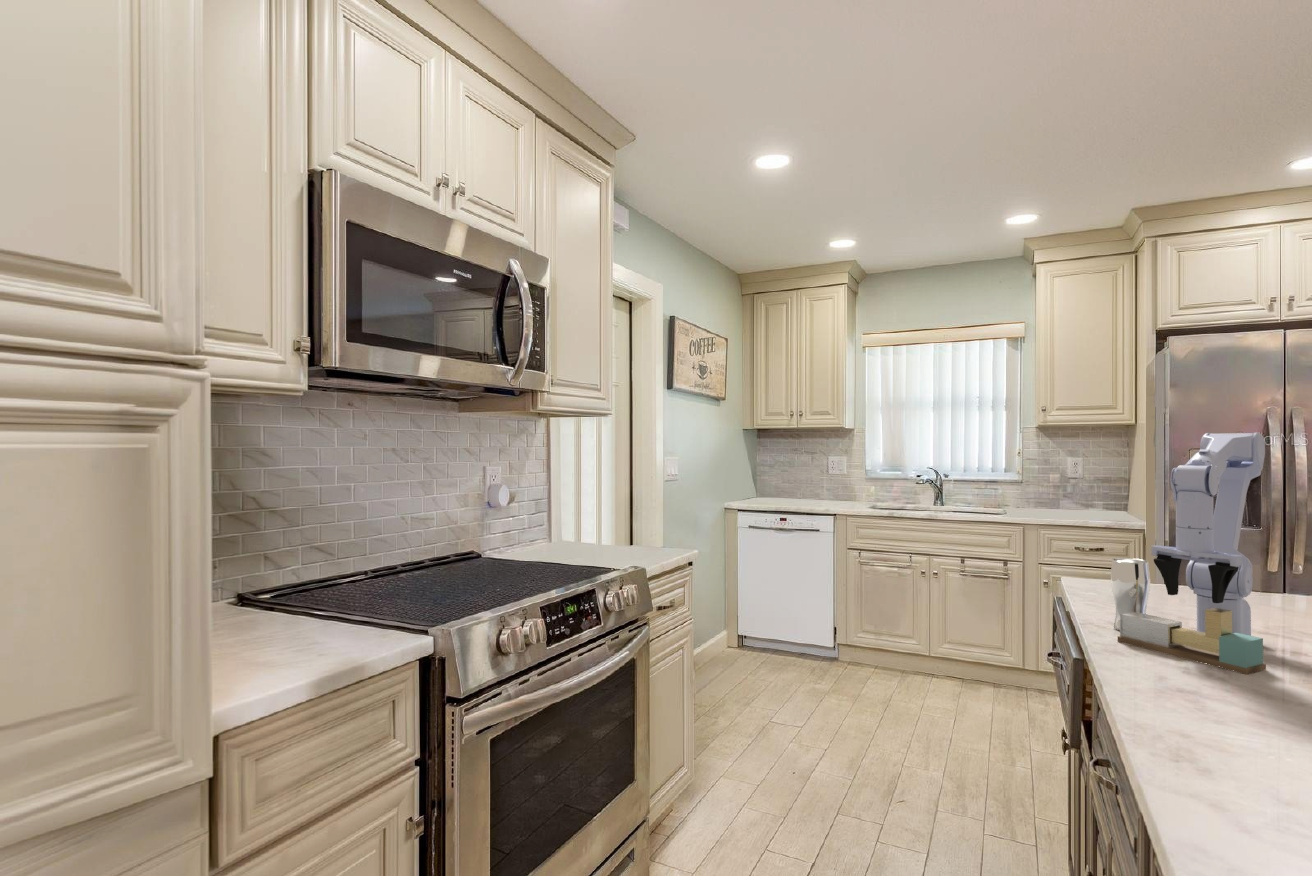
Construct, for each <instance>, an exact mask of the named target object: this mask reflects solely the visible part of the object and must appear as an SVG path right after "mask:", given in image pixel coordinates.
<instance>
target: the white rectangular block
mask: <svg viewBox="0 0 1312 876" xmlns="http://www.w3.org/2000/svg"><path fill="white" fill-rule="evenodd" d="M1182 623H1183V622H1182V621H1179V620H1175V619H1170V618H1165V617H1160V616H1156V615H1151V614H1142V613H1138V612H1128V613H1122V614H1120V631H1119V636H1122V637H1126V638H1130V639H1134V640H1138V641H1142V642H1146V643H1150V644H1154V645H1158V646H1162V647H1166V648H1171V647H1175V646H1180V645H1181V644H1177V643H1173V642H1170V627H1174V626H1177V627H1181V628H1183V625H1182Z"/></svg>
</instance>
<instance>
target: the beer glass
mask: <svg viewBox="0 0 1312 876" xmlns="http://www.w3.org/2000/svg"><path fill="white" fill-rule="evenodd" d="M1110 569H1111V570H1110V582H1111V585H1110V587H1111V591H1112V597H1113V601H1114V605H1115V606H1114V607H1115V619H1114V624H1113V628H1114V630H1116V629H1117V630H1116V631H1118V630H1120V614H1122V613H1128V612H1138V613H1142V614H1146V613H1147V607H1148V606H1147V605H1148V602H1149V598H1150V597H1149V596H1150V591H1151V573H1150V562H1149V560H1145V559H1140V558H1130V557H1114V558H1112V559H1111V568H1110Z"/></svg>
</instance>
